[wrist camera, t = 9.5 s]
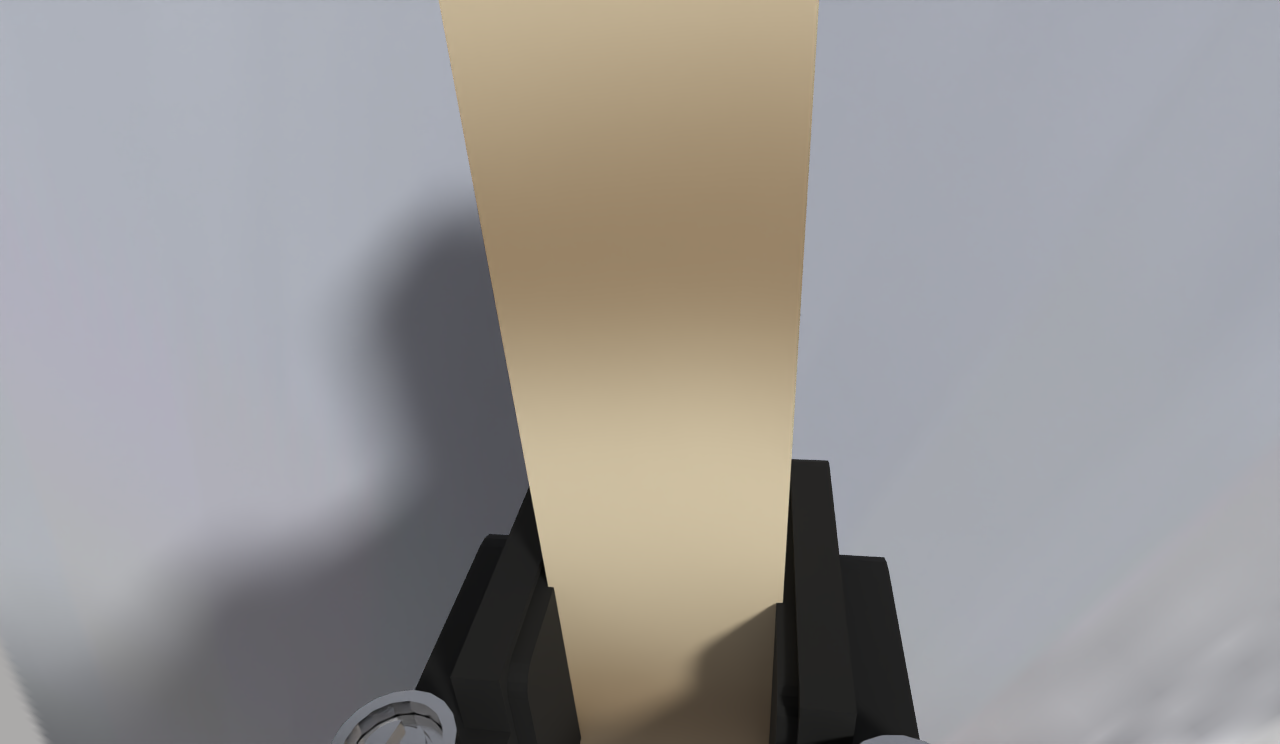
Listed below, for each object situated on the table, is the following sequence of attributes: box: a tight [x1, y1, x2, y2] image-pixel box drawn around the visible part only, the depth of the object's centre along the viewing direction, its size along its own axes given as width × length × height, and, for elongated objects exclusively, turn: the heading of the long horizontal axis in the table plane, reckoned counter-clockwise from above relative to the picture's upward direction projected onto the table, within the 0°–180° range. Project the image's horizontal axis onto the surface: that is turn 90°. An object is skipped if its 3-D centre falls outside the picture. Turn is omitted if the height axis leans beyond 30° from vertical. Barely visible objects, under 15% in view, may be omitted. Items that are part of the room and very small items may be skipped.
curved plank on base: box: [439, 0, 819, 744], centre depth 11 cm, size 20×7×5 cm, turn 3°
